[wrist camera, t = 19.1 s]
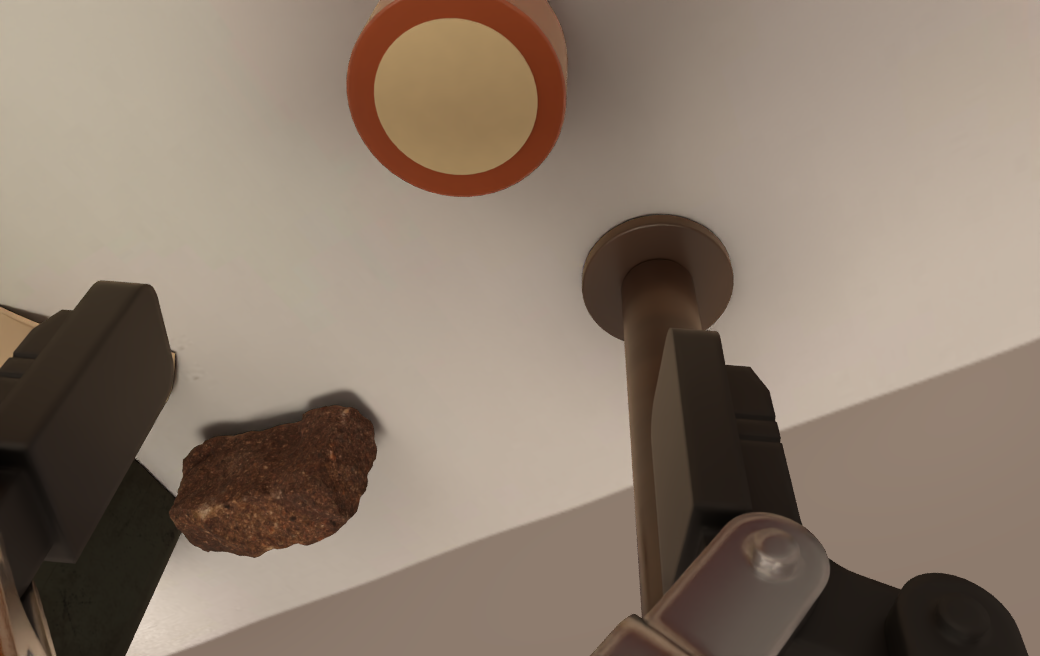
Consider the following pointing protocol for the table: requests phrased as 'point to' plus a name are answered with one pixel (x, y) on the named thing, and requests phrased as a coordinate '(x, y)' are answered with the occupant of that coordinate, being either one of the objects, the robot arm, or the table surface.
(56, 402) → the robot arm
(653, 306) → the walnut post
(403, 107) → the terracotta bowl
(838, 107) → the table surface
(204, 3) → the table surface
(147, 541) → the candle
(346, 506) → the stone
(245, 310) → the table surface
